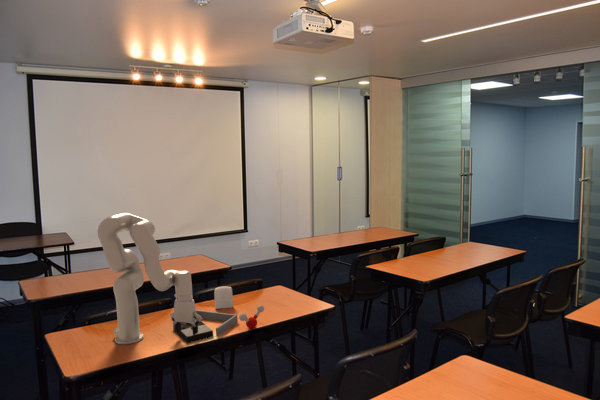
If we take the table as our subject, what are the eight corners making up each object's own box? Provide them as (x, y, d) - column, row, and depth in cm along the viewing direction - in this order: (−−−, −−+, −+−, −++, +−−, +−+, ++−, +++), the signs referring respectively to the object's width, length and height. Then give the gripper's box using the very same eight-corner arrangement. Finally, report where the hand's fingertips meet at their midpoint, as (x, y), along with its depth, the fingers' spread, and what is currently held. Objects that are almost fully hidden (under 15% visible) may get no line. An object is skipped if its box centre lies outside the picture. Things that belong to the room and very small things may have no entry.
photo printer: (214, 309, 244) (213, 288, 243) (215, 307, 249) (214, 286, 248) (233, 308, 246) (232, 287, 245) (233, 305, 250) (232, 284, 249)
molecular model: (247, 335, 206) (246, 315, 205) (237, 333, 209) (236, 313, 208) (266, 323, 222) (265, 304, 221) (256, 321, 224) (255, 302, 223)
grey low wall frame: (173, 330, 216) (172, 322, 215) (195, 317, 233) (195, 309, 233) (218, 336, 206) (217, 328, 206) (237, 322, 224) (237, 314, 224)
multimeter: (199, 325, 222) (198, 316, 222) (213, 338, 206) (213, 327, 206) (174, 331, 215) (173, 322, 215) (187, 344, 199) (186, 334, 199)
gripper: (164, 298, 202) (166, 333, 203) (195, 301, 195) (197, 337, 197) (174, 293, 209) (176, 327, 210) (204, 296, 202) (206, 331, 204)
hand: (186, 332), depth 203 cm, fingers open, 9 cm apart
